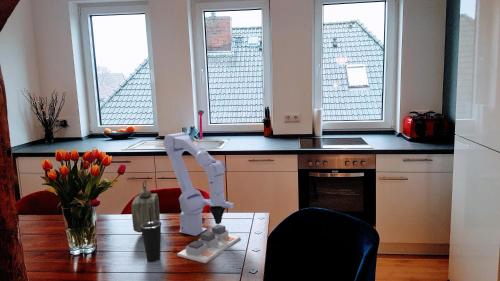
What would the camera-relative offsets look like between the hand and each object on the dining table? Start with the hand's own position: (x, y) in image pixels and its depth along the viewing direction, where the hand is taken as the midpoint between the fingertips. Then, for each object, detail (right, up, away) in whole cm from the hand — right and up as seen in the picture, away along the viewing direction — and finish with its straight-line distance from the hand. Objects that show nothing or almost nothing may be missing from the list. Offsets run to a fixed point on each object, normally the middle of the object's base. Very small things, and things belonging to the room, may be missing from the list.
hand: (218, 223), depth 160 cm
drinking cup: (-23, -11, -14) cm, 29 cm away
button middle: (-4, -6, -6) cm, 9 cm away
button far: (0, -4, +1) cm, 5 cm away
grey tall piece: (-31, -7, +7) cm, 33 cm away
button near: (-7, -8, -12) cm, 16 cm away
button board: (-3, -8, -6) cm, 10 cm away
